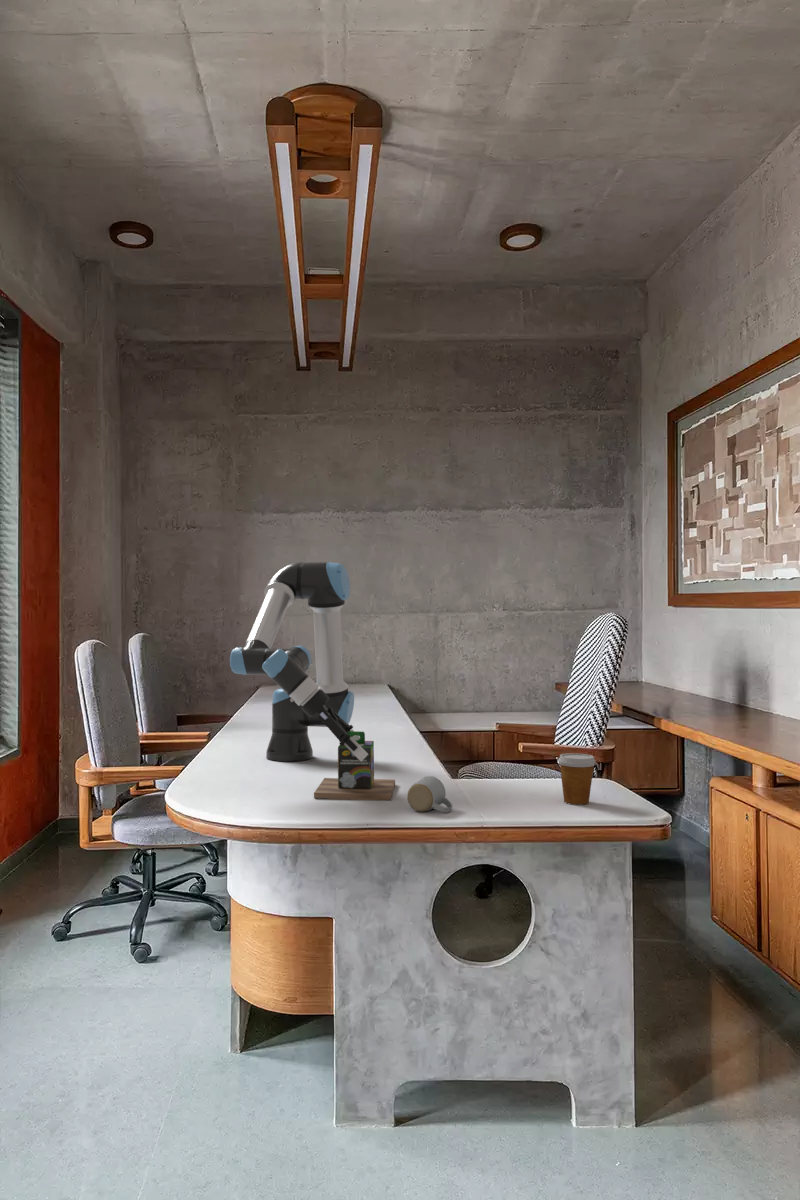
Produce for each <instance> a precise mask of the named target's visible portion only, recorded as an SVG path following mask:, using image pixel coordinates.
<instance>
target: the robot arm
mask: <svg viewBox="0 0 800 1200" xmlns="http://www.w3.org/2000/svg"><path fill="white" fill-rule="evenodd" d="M349 577H350V576H349V573H348V571H347V568H346V567H345V565H343V564H342V563H340V562H331V561H320V562H316V561H315V562H303V561H301V562H293V563H289V564H287V565H284V567H282V568H281V569H279V570H278V571H277V572H276V573H274V575H272V577H271V578H270V579H269V580H268V582H267V584H266V586H265V589H264V590H263V594H264V599H263V601H262V603H261V605H260V608H259V611H258V613H257V615H256V618H255V620H254V622H253V625H252V627H251V630H250V631H249V634H248V636H247V639H246V641H245V643H244V645H243V647H241V646H239V647H234V648H232V650H231V652H230V656H229V666H230V670H231V672H233V673H234V674H236V675H237V674H238V675H245V676H249V675H252V676H255V675H256V676H268V678H270V679H271V680H272V681H273V682H274V683H275V684H276V685H277V686H278V687H279V688H278V689H276V690H274V692H273V693H272V703H271V705H272V710H271V711H272V713H271V714H272V716H271V725H272V726H271V736H270V740H269V743H268V745H267V749H266V753H265V754H266V759H268V760H271V761H278V762H299V761H307V760H310V759H313V758H314V750H313V748H312V744H311V740H310V738H309V734H308V732H309V731H308V729H309V727H319V728H320V727H322V728H328V729H329V731H330V732H331V733H332V734H333V735H334V737H336V739H337V740H338V741H339V743H338V744H339V745H341V746H342V745H343V744H344V745H345V746H346V747H347V748H348V749H349V750H350V751H351V752H352V753H353V754H354V755H355V756H356V757H357V758H358V759H359V760H360V761H362V760H363V759H364V758H365V757H366V756H367V755H368V753H367V752H366V751H365V750H364V749H363V748H362V747H361V746H360V745H359V744H358V743H357V742H356V741H355V740H359V739H360V736H358V735H354V736H353V737H350V735H348V732H349V731H354V730H353V729H354V726H353V724H350V722H351V719H352V717H353V712H354V706H355V694H354V692H353V691H351V690H350V691H349V684H348V683H346V682H345V680H344V671H343V669H344V668H343V647H342V646H343V645H342V644H343V643H342V642H343V641H342V621H341V620H342V617H341V610H342V608H343V607H344V606H345V604H346V602H345V601H346V600H349V598H350V594H351V591H350V590H351V584H350V578H349ZM294 600H307V606H308V607H309V608H310V609H311V610H312V613H313V634H314V635H313V636H314V650H315V652H314V653H315V654H314V655H315V674H316V675H315V676H316V678H315V679H316V682H315V681H314V680H313V679H312V677H310V676H309V675H308V674H307V673H306V672H307V670H308V669H309V667H310V666H311V663H312V653H310V651H309V650H308V648H306V647H305V646H303V645H295V646H291V647H290V648H272V647H273V646H274V645H273V644H274V642H275V639H276V637H277V634H278V632H279V631H280V630H279V629H280V627H281V624H282V622H283V620H284V618H285V614H286V613H287V609H288V608H289V606H291V605H293V603H294Z"/></svg>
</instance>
